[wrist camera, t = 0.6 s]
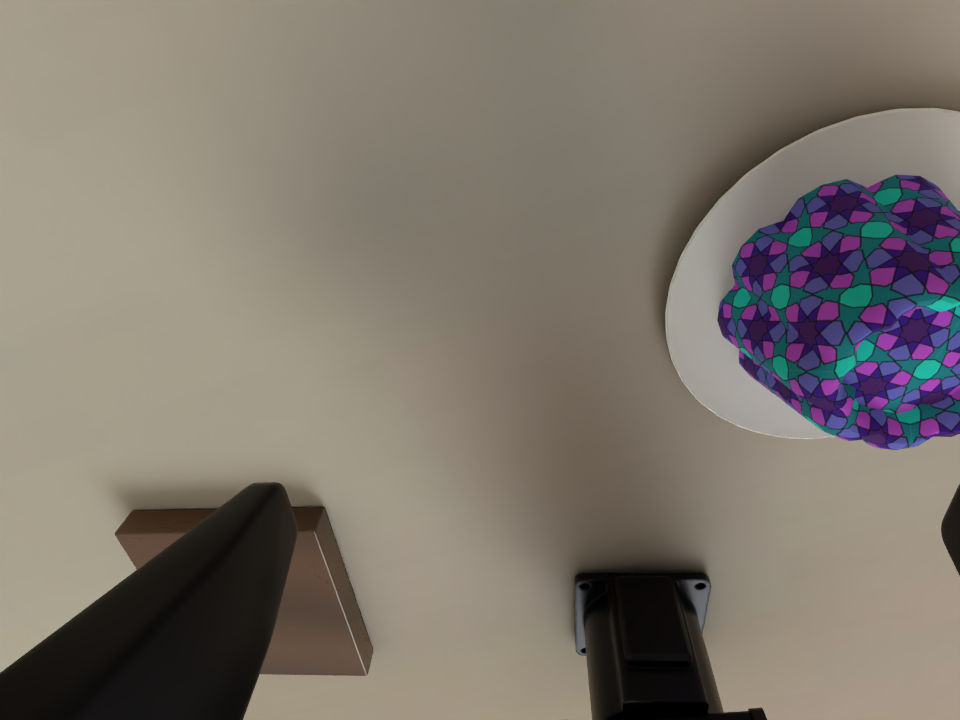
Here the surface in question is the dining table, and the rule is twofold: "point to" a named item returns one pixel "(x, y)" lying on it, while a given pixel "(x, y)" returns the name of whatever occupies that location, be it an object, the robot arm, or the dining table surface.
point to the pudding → (831, 287)
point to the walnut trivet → (306, 599)
